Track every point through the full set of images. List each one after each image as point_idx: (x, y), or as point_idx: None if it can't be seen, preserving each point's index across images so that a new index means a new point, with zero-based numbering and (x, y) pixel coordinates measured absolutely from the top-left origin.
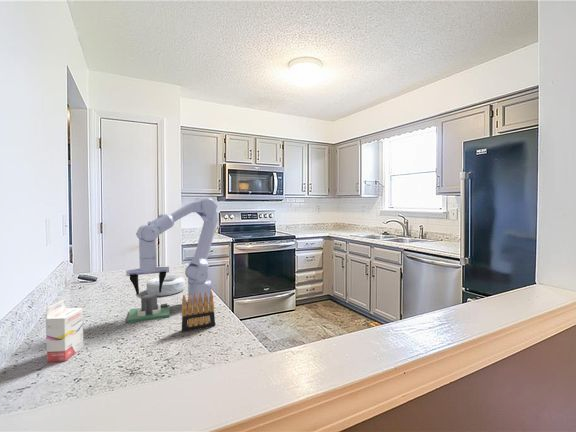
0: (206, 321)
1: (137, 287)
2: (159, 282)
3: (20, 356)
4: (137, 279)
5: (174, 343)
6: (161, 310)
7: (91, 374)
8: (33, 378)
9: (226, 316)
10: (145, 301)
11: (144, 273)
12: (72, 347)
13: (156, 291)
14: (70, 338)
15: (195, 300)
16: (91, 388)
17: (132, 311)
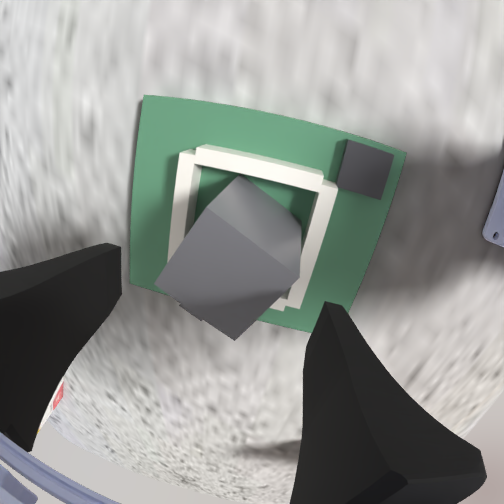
0: None
1: (77, 352)
2: (301, 456)
3: None
4: (24, 395)
5: (270, 468)
6: (322, 247)
7: (124, 452)
8: None
9: (476, 411)
10: (194, 313)
11: (57, 491)
12: (54, 398)
13: None
14: (44, 418)
15: None
16: (136, 470)
17: (151, 150)
